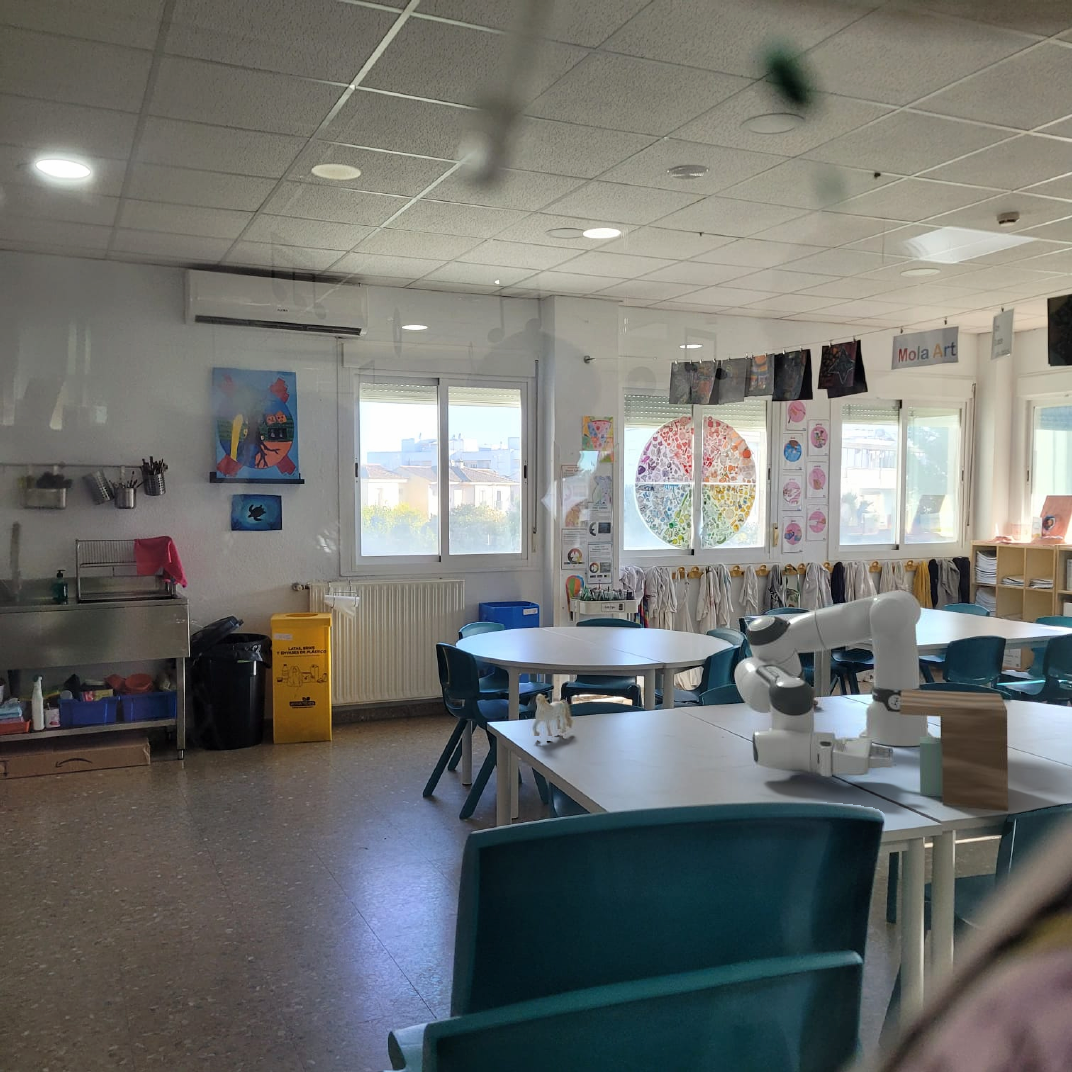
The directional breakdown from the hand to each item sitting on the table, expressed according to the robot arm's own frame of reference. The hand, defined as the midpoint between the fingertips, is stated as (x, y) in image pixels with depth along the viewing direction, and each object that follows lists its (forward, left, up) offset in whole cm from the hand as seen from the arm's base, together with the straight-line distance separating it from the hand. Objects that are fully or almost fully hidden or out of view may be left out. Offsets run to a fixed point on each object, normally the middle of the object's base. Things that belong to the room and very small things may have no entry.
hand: (893, 757), depth 213 cm
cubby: (0, +13, -7) cm, 14 cm away
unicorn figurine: (-22, -85, -7) cm, 88 cm away
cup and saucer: (-88, -30, -7) cm, 93 cm away
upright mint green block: (0, +9, -7) cm, 11 cm away
